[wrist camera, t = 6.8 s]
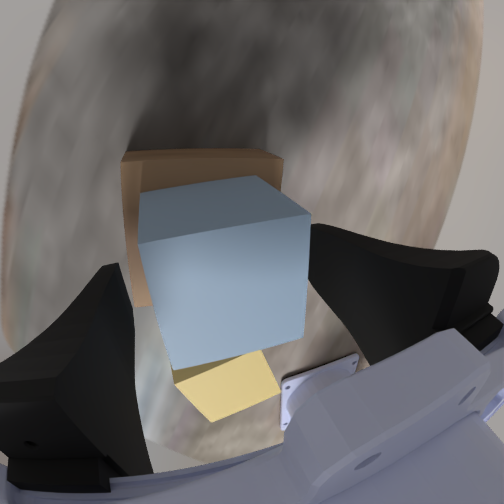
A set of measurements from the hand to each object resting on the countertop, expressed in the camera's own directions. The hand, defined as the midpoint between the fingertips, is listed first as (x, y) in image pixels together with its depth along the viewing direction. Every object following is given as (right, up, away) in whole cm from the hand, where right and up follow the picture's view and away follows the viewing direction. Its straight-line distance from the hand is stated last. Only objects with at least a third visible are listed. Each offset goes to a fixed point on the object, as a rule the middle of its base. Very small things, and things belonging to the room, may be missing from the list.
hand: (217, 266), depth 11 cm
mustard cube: (-1, -5, +9) cm, 11 cm away
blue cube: (-1, +1, +2) cm, 3 cm away
